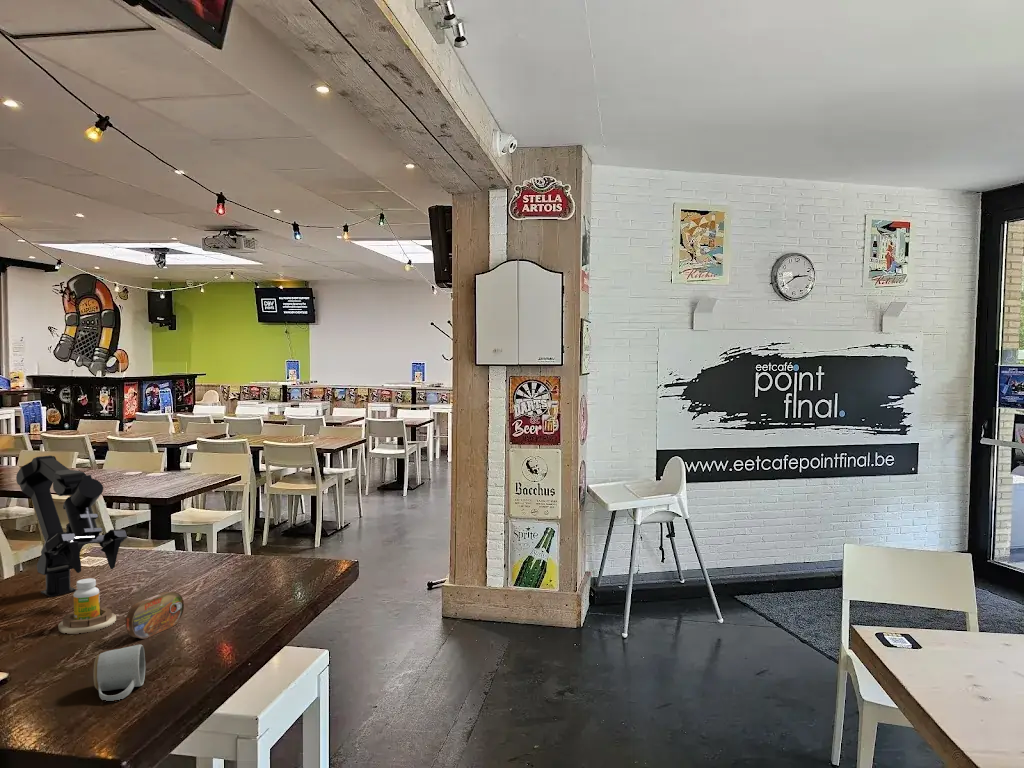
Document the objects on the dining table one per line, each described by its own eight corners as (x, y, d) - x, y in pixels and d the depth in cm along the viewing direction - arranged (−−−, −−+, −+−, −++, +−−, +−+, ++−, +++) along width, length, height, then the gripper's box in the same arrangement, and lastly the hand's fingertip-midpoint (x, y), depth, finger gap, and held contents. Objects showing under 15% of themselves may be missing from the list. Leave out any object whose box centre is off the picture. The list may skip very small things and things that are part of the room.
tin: (133, 644, 160) (132, 607, 160) (123, 642, 161) (122, 605, 161) (185, 621, 174) (184, 587, 174) (175, 620, 175) (174, 586, 175)
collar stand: (49, 626, 171) (49, 616, 171) (101, 612, 180) (101, 602, 180) (72, 637, 164) (72, 627, 164) (125, 622, 173) (125, 612, 173)
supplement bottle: (75, 626, 168) (74, 585, 168) (72, 619, 172) (71, 580, 172) (101, 620, 172) (100, 581, 171) (98, 614, 176) (97, 575, 176)
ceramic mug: (100, 682, 140) (98, 644, 140) (146, 675, 143) (145, 638, 143) (89, 707, 131) (87, 666, 130) (139, 699, 133) (137, 659, 133)
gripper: (94, 529, 197) (109, 580, 192) (25, 532, 180) (40, 589, 175) (120, 509, 194) (136, 561, 189) (52, 511, 177) (68, 568, 172)
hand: (96, 570), depth 181 cm, fingers open, 9 cm apart
